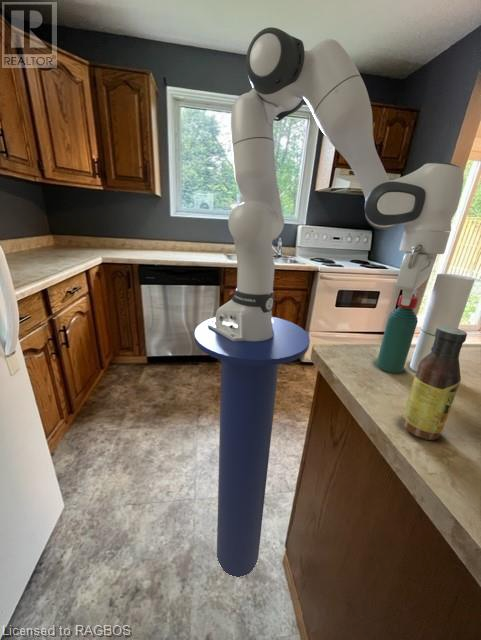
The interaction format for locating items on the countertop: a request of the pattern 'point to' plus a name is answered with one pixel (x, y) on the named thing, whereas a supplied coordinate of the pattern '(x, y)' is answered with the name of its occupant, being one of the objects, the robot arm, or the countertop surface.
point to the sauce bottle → (435, 385)
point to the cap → (412, 305)
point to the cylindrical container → (442, 311)
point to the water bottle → (397, 340)
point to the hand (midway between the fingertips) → (407, 302)
